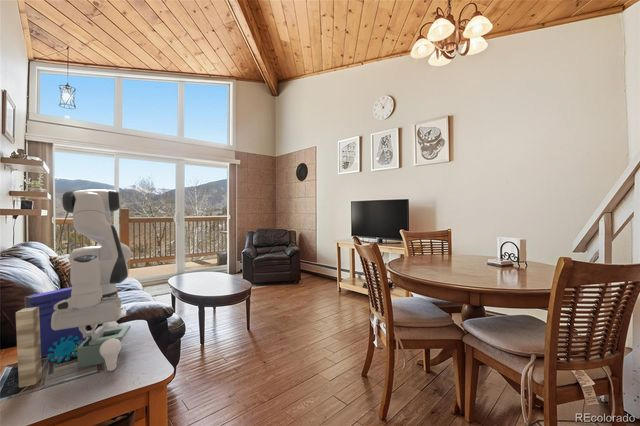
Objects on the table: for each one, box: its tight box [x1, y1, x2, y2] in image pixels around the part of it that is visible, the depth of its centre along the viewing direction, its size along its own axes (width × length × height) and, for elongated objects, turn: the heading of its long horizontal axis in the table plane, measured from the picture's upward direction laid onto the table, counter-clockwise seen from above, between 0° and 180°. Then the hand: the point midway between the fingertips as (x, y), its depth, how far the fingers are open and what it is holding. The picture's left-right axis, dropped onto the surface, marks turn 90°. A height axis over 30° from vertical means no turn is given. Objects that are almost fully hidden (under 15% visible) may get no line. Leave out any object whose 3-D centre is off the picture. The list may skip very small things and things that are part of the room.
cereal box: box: [23, 286, 88, 358], centre depth 115 cm, size 17×5×24 cm, turn 154°
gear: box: [46, 335, 83, 364], centre depth 108 cm, size 11×6×10 cm
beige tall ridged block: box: [15, 307, 43, 388], centre depth 91 cm, size 4×4×24 cm
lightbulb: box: [100, 338, 122, 372], centre depth 96 cm, size 6×6×11 cm
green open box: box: [76, 332, 122, 369], centre depth 107 cm, size 12×10×7 cm
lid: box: [89, 324, 131, 346], centre depth 108 cm, size 12×10×3 cm
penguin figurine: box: [101, 321, 119, 329], centre depth 119 cm, size 6×8×12 cm
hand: (88, 336), depth 104 cm, fingers closed
